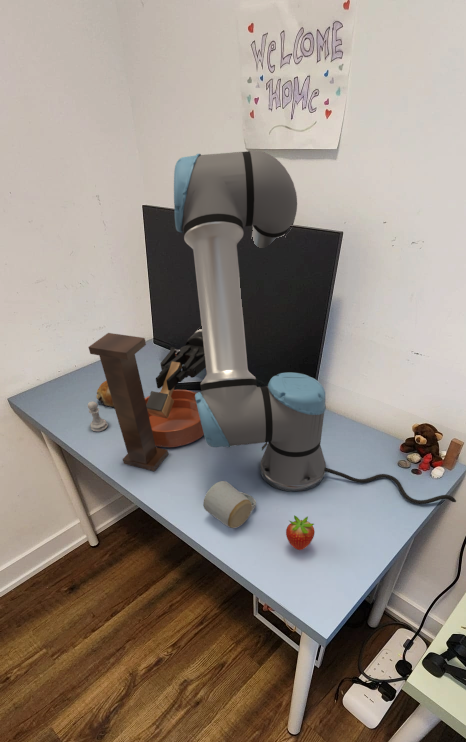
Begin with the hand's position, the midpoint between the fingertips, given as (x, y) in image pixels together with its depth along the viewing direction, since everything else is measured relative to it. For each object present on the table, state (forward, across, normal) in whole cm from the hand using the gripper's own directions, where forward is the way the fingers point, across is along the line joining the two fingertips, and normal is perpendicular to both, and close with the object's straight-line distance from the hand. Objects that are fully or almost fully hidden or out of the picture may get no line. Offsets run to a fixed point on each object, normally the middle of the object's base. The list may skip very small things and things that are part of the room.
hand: (163, 384), depth 106 cm
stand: (+14, 0, -14) cm, 19 cm away
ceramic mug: (+24, -28, -14) cm, 39 cm away
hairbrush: (-2, 0, -3) cm, 4 cm away
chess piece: (+6, +20, -14) cm, 25 cm away
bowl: (-1, 0, -14) cm, 14 cm away
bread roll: (-8, +24, -14) cm, 29 cm away
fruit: (+28, -44, -14) cm, 54 cm away
